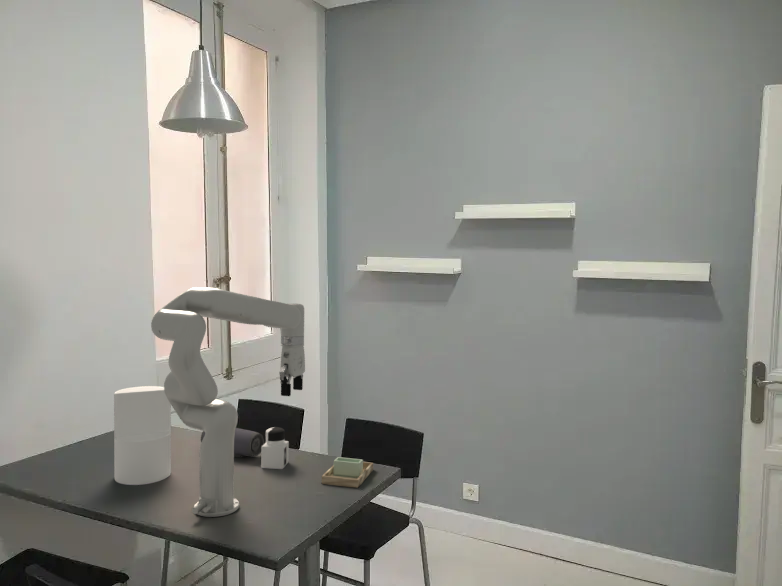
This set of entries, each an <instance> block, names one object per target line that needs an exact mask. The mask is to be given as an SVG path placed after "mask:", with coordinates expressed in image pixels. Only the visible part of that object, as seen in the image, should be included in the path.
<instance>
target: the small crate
mask: <svg viewBox="0 0 782 586" xmlns="http://www.w3.org/2000/svg"><path fill="white" fill-rule="evenodd" d="M363 462H364V459H360V458H350V457H341V456H338V457H336V458H335V459H334V460H333V465H334V474H333V475H334V476H343V477H352V478H358V477H359V476H360V475H361V474H362V473H363Z"/></svg>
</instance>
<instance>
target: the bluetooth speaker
mask: <svg viewBox="0 0 782 586" xmlns="http://www.w3.org/2000/svg"><path fill="white" fill-rule="evenodd" d="M204 436H205V432H204V431H201V435H200V443H201V442H202V440H203V438H204ZM264 444H265V439H264V436H263V434H262V433H259V432H257V431H253V430H249V429H243V428H240V427H236V430H235V437H234V458H244V457H257V456H259V455H260V454H261V447H262V446H263V445H264Z"/></svg>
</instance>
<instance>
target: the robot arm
mask: <svg viewBox="0 0 782 586" xmlns="http://www.w3.org/2000/svg"><path fill="white" fill-rule="evenodd" d="M153 315H154V316H153V317H152V319H151V322H150V326H151V331H152V333H153V335H154V336H156V337H157V338H158V339H160V340H163V341H170V342H172V346H171V350H170V352H169V355H168V366H169V370H170V371H169V373H168V374H167V376H166V377H165V379H164V381H163V382H164V383H163V387H164V391H165V395H166V397H167V399H168V401H169V402H170V404H171V407H172V409H173V411H174V412H175V413H176V414H177V416H178V417H179V420H181V422H182V423H183V424H184V425H185V426H187V427H188V428H190V429H194V430H197V431H201V432H203V431H204V432H205V436H204V438H203V440H202V442H201V441H200V446H199V452H198V454H199V497H198V501H197V502H196V503H195V504H194V505H193V507H192V508H191V513H192V514H194V515H197V516H201V517H207V518H212V517H213V518H217V517H223V516H227V515H230V514H233V513H235V512H236V511H238V509H239V508H240V501H239V500H238V499H237V498H235V497H234V496H235V495H234V494H235V493H234V492H235V489H234V487H235V484H234V483H235V457H234V437H235V430H236V428H237V425H238V419H239V417H238V416H239V414H238V410H237V408H236V407H235V406H234V405H233V404H232V403H231V402H229V401H228V400H227V401H226V400H224V399H220V398H217V397H218V392H219V391H218V389H219V388H218V385H217V383H216V380H215V379H214V378H213V375H212V374H211V372H210V371H209V368H208V366H207V365H206V364H205V361H204V359H203V358H202V355H201V348H202V344H203V340H204V337H205V335H206V331H207V323H206V320H205V318H209V319H215V320H221V321H227V322H232V323H238V324H244V325H257V326H261V325H263V326H265V327H266V328H267V327H268V328H273V329H275V328H276V329H280V346H281V352H280V353H281V354H280V371H279V374H278V375H279V380H280V396H283V397H291V393H292V388H293V390H294V391H302V390H303V387H304V385H303V384H304V383H303V382H304V381H303V378H304V373H305V372H306V360H305V359H306V357H305V347H304V346H305V307H304V305H303V304H301V303H285V302H281V301H276V300H270V299H266V298H261V297H259V296H258V297H257V296H253V295H247V294H242V293H240V292H239V293H238V292H234V291H229V290H226V289H221V288H217V287H216V288H215V287H200V286H194V287H191V288H189V289H187V290H185V291H183V292H182V293H180V294H179V295H178V296H177V297H175V298H174V299H172V300H171V301H170V302H168V303H167V304H166V305H164V306H163V307H162V308H160V309H159V310H158V311H157V312H156V313H155V314H153ZM291 379H293V380H292V383H291Z"/></svg>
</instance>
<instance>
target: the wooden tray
mask: <svg viewBox="0 0 782 586" xmlns="http://www.w3.org/2000/svg"><path fill="white" fill-rule="evenodd" d="M373 471H374V462H368V461H363V473H362V474H361V475H360V476H359V477H358V478H352V477H343V476H334V475H333V474H334V464H333V465H331V467H329V469H328V470H326V471H325V472H324V473H323V474H322V475H321V484H322V485H329V486H339V487H347V488H355V489H357V488H358V489H359V487H360V486H361V485H362V484H363V483H365V482H364V481H365V480H366V479H367V478H368V477H369V476H370V474H371V473H372V472H373Z"/></svg>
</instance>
